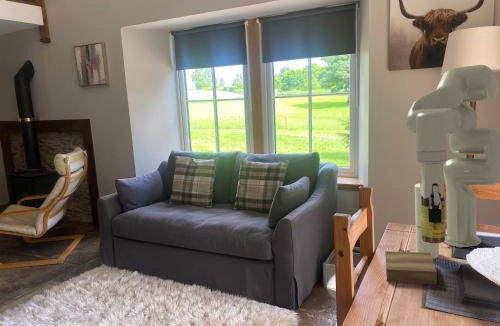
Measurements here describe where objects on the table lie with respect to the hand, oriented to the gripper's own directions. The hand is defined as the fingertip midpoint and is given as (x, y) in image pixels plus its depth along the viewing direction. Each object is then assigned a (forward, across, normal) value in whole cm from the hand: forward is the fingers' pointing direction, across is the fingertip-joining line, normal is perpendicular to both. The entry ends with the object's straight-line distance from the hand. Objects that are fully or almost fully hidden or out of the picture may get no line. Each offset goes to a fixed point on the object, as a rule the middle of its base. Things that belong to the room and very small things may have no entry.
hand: (433, 217), depth 106 cm
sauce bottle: (+7, +1, 0) cm, 7 cm away
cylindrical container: (+22, -23, +1) cm, 32 cm away
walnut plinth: (+21, -8, -6) cm, 24 cm away
